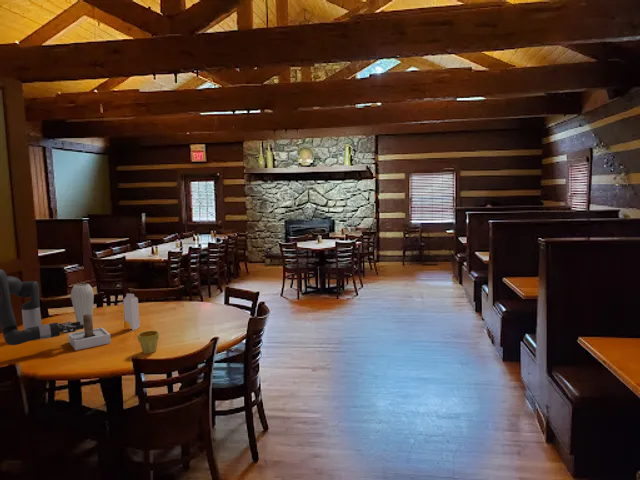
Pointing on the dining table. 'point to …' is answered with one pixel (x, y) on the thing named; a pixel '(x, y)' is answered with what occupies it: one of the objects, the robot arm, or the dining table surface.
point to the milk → (131, 311)
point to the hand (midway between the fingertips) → (81, 324)
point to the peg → (88, 325)
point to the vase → (82, 301)
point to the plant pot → (148, 341)
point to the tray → (89, 339)
